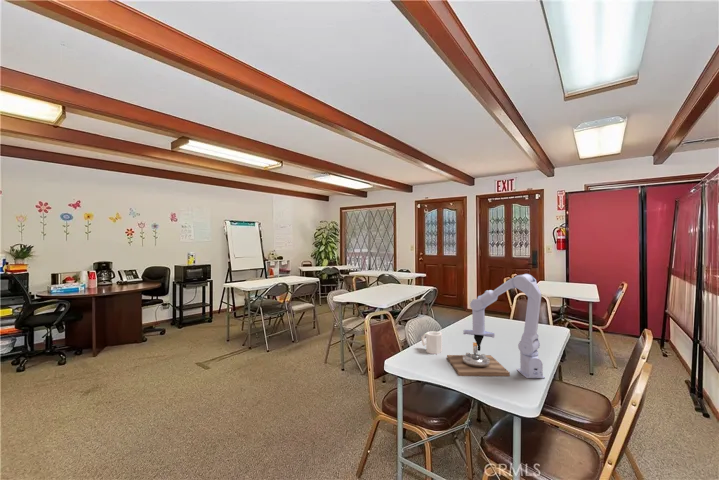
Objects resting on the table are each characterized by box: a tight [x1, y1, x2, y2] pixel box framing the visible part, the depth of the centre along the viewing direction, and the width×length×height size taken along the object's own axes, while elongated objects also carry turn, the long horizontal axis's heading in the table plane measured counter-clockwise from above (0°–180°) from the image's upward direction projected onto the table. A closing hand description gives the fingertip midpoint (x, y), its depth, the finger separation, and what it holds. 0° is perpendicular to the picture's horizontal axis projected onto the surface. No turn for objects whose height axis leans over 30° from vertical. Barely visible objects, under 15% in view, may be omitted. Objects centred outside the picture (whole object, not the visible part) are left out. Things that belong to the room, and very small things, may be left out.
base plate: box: [446, 354, 511, 377], centre depth 152 cm, size 22×22×2 cm
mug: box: [420, 330, 443, 355], centre depth 174 cm, size 12×9×10 cm
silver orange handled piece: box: [463, 342, 490, 367], centre depth 155 cm, size 20×12×6 cm, turn 162°
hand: (479, 350), depth 160 cm, fingers closed
